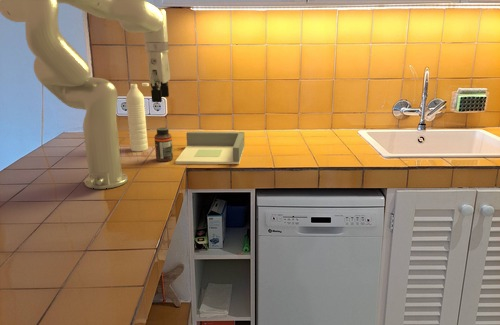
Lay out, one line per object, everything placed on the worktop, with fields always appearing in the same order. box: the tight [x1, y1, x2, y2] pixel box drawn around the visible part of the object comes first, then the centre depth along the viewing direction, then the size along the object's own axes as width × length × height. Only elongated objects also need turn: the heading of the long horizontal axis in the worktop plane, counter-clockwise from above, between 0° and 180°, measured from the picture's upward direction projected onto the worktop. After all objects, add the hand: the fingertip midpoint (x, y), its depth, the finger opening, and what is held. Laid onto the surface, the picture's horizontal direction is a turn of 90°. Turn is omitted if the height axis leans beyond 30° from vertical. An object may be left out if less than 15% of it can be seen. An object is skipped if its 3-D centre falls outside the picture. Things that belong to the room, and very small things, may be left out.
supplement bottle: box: [154, 126, 174, 162], centre depth 158 cm, size 6×6×11 cm
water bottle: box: [125, 82, 150, 153], centre depth 169 cm, size 9×6×25 cm
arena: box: [174, 131, 245, 165], centre depth 164 cm, size 22×22×6 cm
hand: (160, 99), depth 154 cm, fingers open, 9 cm apart
